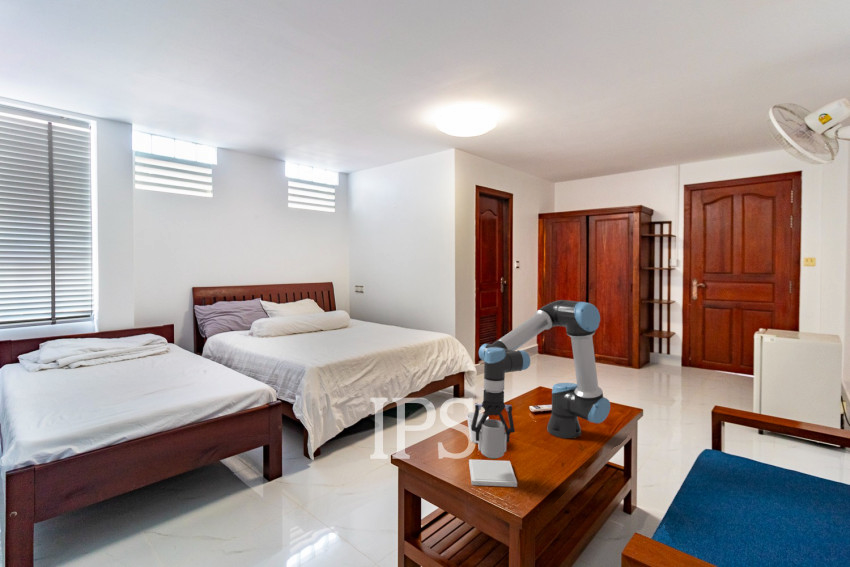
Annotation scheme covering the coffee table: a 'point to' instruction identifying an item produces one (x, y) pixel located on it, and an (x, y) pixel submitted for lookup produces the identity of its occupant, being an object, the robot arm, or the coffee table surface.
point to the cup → (470, 419)
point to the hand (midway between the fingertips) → (492, 449)
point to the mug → (492, 438)
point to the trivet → (492, 473)
